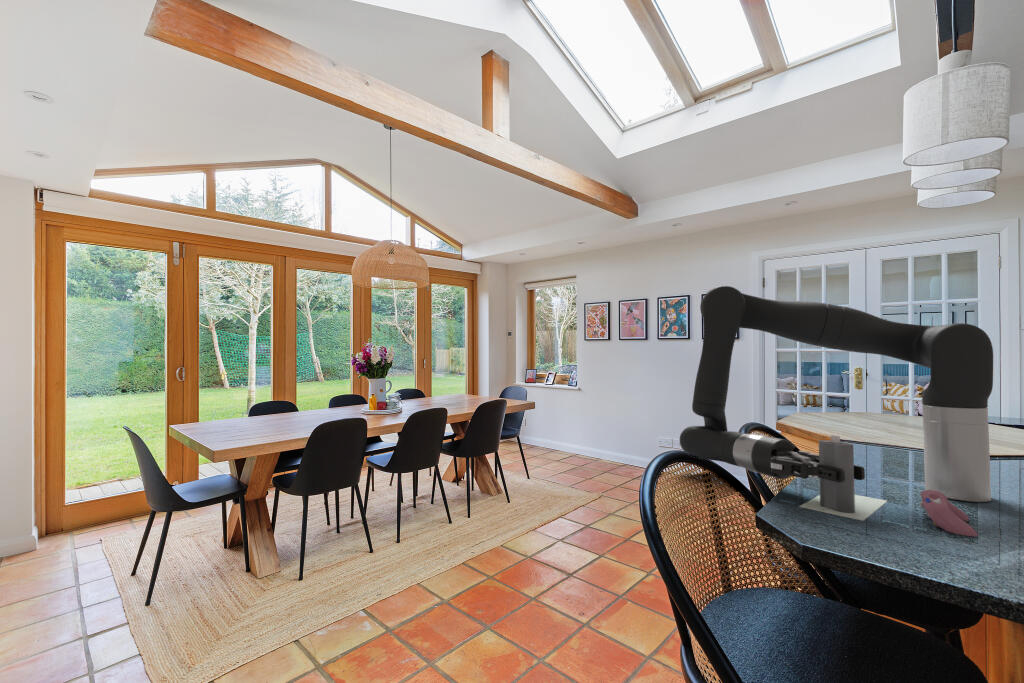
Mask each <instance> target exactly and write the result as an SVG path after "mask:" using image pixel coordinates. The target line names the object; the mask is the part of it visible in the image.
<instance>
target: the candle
mask: <svg viewBox="0 0 1024 683" xmlns="http://www.w3.org/2000/svg"><path fill="white" fill-rule="evenodd" d="M854 452H855V451H854V444H853V443H849V442H842V441H841V436H840V435H834V434H831V435H830V440H825V439H821V440H818V455H819V465H827V466H831V467H836V468H841V469H843V470H844V472H845V481H844V482H841V483H838V482H834V481H830V480H826V479H822V478H818V479H819V495H820V505H821V506H822V507H825V508H828V509H832V510H835V511H838V512H843V513H855V495H856V492H855V479H854V465H855V464H854V463H855V462H854V461H855V460H854V454H855V453H854Z"/></svg>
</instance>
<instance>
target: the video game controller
mask: <svg viewBox="0 0 1024 683" xmlns="http://www.w3.org/2000/svg"><path fill="white" fill-rule="evenodd" d="M919 494H920V497H921V500H922V501H919V505H920V507H921V508H922V509H923V510H925V513H926V514H927V516H928V517H929V518H930V519H931V520H932V522H933V525H935V526H936V528H940V529H942V530H944V531H946V532H947V533H952V534H954V535H955V534H956V535H961V536H966V537H978V533H977V531H976V530H975V529H974V528H973V527H972V526H971V525H970V524H968V523H967V522H969V521H970V518H969V516H968V515H966V513H965V512H964V511H963V510H961V509H959V508H958V507H957V506H956V505H954V504H953V503H951V501H949V498H947V497H946V496H945V495H944V494H943V493H941V492H939V491H936V490H926V491H925V490H922V491H921V492H920V493H919Z"/></svg>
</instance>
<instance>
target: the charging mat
mask: <svg viewBox="0 0 1024 683" xmlns="http://www.w3.org/2000/svg"><path fill="white" fill-rule="evenodd" d="M887 502H888V500H885V499H880V498H875V497H869V496H863V495H858V494H855V513H843V512H838V511H835V510H832V509H828V508H825V507H822V506H821V505H820V494H819V495H817V496H816V497H814V498H811V499H809V500H808V501H806V502H804V503H803V504H801V505H799V506H798V507H799V508H804V509H808V510H811V511H816V512H820V513H821V512H822V513H826V514H832V515H834V516H835V515H836V516H838V517H844V518H848V519H855V520H858V521H862V522H864V521H866V519H867V518H869V517H870V516H871V515H873V514H874V513H875V512H876V511H878V510H879V509H880V508H881V507H882V506H884V505H885V504H886V503H887Z"/></svg>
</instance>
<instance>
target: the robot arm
mask: <svg viewBox="0 0 1024 683" xmlns="http://www.w3.org/2000/svg"><path fill="white" fill-rule="evenodd" d="M699 307H700V309H699V310H700V313H701V315H702V319H703V320H702V321H703V323H702V324H703V340H702V349H701V355H700V359H699V363H698V368H697V373H696V377H695V383H694V389H693V390H694V391H693V398H692V405H691V407H692V408H691V410H692V412H693V413H694V414H695V415H697V416H700V417H703V422H704V425H691V426H687V427H686V428H684V429H683V430H682V431H681V433H680V436H679V446H680V447H681V449H682V450H683V452H684V453H686V452H688V453H692V454H695V455H698V456H700V457H701V458H700V457H698V458H697V459H701V460H707V461H716V462H717V461H718V462H722V463H726V464H729V465H730V466H731V465H733V466H735V467H739V468H742V469H746V470H748V471H750V472H753V473H758V474H761V475H764V476H768V477H772V478H775V479H778V480H779V479H780V480H786V479H788V478H790V477H795V478H801V479H804V480H806V479H809V478H811V479H812V478H813V479H815V480H817V479H819V478H822V479H826V480H830V481H834V482H838V483H841V482H844V481H845V472H844V470H843V469H841V468H836V467H831V466H827V465H819V453H817V454H816V453H811V452H810V451H807V450H797V448H796V446H795V445H794V444H793V442H791V441H790V440H788V439H784V438H780V437H779V438H778V437H772V436H767V435H762V434H757V433H754V434H753V433H744V432H739V431H729V430H728V425H727V418H726V404H727V398H728V391H729V390H728V389H729V382H730V370H731V365H732V364H731V363H732V355H733V349H734V345H735V341H736V338H737V334H738V330H739V329H748V330H755V331H759V332H765V333H769V334H772V335H775V336H779V337H781V338H784V339H788V340H791V341H794V342H799V343H801V344H807V345H810V346H817V347H821V348H827V349H830V350H831V349H832V350H839V351H845V352H851V353H859V354H860V353H862V354H873V355H880V356H885V357H890V358H893V359H897V360H902V361H906V362H908V363H912V364H915V365H918V366H922V367H925V368H928V369H930V380H929V384H928V386H927V387H926V388H925V389H924V390H923V391H922V392H921V393H922V394H921V403H922V406H921V408H922V428H923V429H922V430H923V431H922V432H923V433H922V434H923V435H922V436H923V458H924V459H923V462H924V467H923V468H924V491H926V490H936V491H939V492H941V493H943V494H944V495H945V496H946V497H947V499H951V500H955V501H956V500H958V501H965V502H975V503H976V502H977V503H985V502H990V501H992V488H991V487H992V486H991V485H992V484H991V483H992V482H991V477H992V476H991V457H990V456H991V455H990V454H991V453H990V432H989V428H990V426H989V408H988V407H989V406H988V403H989V402H988V400H989V398H990V396H991V394H992V392H993V386H994V348H993V343H992V341H991V338H990V337H989V335H988V334H987V333H986V332H985V331H984V329H982V328H980V327H978V326H976V325H974V324H971V323H960V322H959V323H957V322H956V323H949V324H942V325H923V324H922V325H921V324H912V323H904V322H897V321H891V320H889V319H884V318H881V317H879V316H876V315H873V314H871V313H868V312H865V311H862V310H861V309H860V310H859V309H856V308H853V307H848V306H844V305H843V306H842V305H838V304H837V305H836V304H831V303H825V302H817V301H808V300H807V301H804V300H788V299H787V300H783V299H782V300H781V299H770V298H763V297H759V296H754V295H752V294H751V295H750V294H746V293H742V292H741V291H740V290H739V289H738V288H736V287H733V286H731V285H718V286H715V287H713V288H711V289H709V290H708V291H707V292H705V294H704V295H703V297H702V299H701V302H700V306H699ZM687 455H688V456H690V455H689V454H687ZM693 456H694V455H693ZM696 457H697V456H696ZM703 458H704V459H703ZM865 472H866V469H865V468H864V467H863V466H862V465H861V466H860V465H855V464H854V480H855V481H856V480H857V481H864V480H865V478H866V477H865V476H866V475H865Z"/></svg>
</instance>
